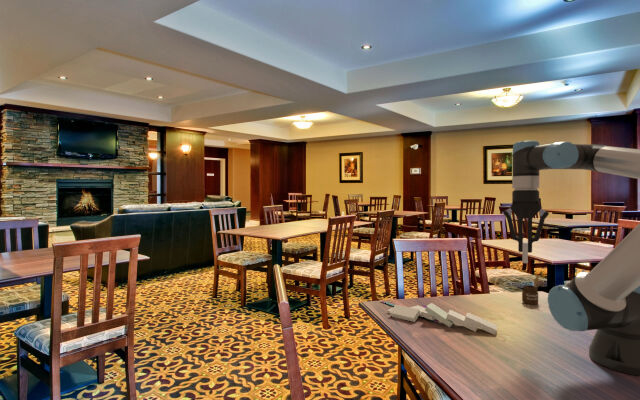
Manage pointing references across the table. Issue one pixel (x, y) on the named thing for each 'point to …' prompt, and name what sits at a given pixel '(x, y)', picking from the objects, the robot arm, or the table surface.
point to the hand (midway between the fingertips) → (525, 262)
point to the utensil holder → (530, 293)
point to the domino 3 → (439, 314)
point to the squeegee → (421, 306)
